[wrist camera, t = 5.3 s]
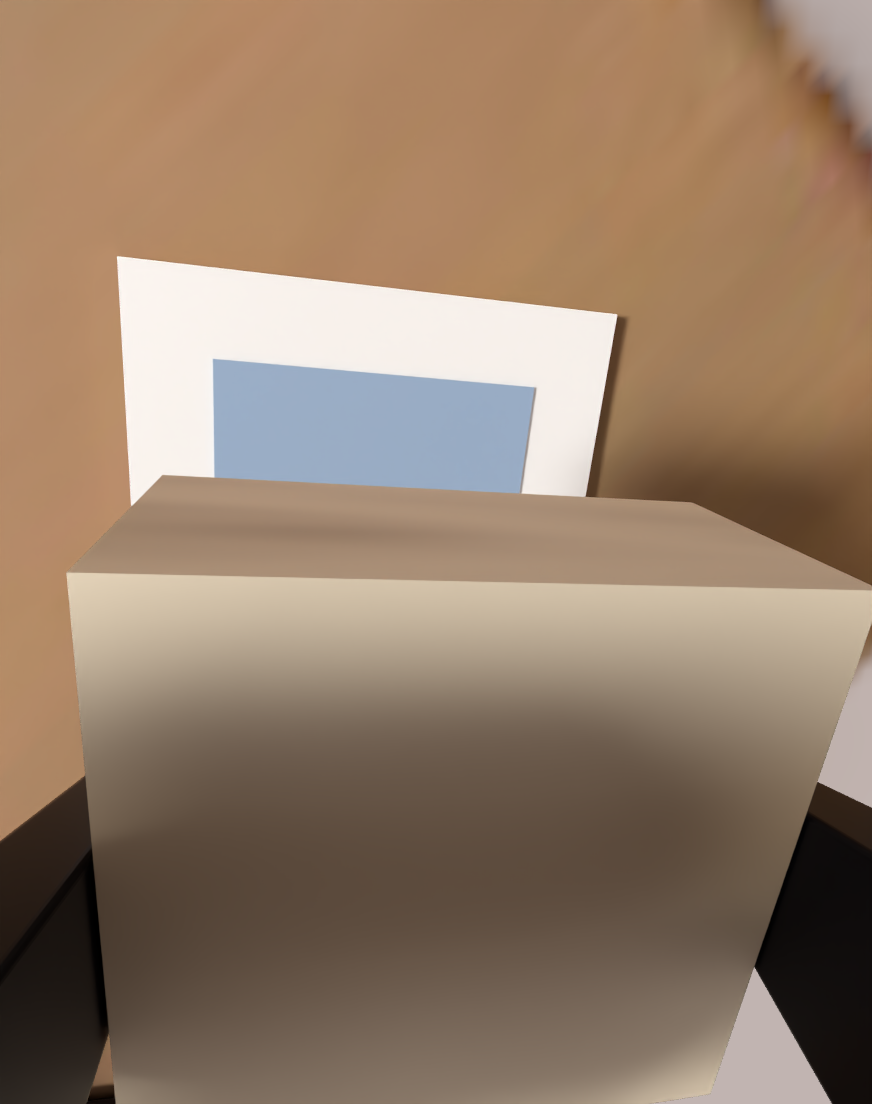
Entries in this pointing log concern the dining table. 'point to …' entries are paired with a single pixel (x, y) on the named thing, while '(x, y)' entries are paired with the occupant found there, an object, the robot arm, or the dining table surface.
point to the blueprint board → (355, 383)
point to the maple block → (442, 787)
